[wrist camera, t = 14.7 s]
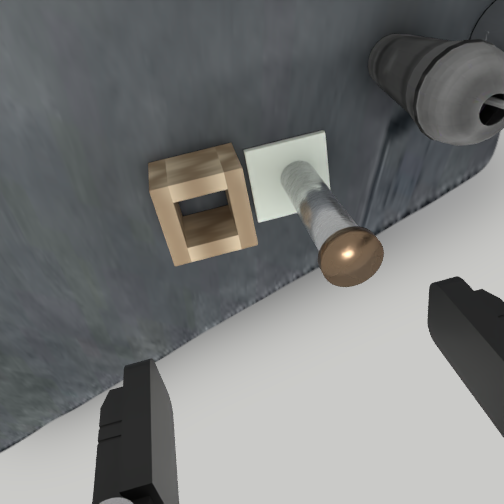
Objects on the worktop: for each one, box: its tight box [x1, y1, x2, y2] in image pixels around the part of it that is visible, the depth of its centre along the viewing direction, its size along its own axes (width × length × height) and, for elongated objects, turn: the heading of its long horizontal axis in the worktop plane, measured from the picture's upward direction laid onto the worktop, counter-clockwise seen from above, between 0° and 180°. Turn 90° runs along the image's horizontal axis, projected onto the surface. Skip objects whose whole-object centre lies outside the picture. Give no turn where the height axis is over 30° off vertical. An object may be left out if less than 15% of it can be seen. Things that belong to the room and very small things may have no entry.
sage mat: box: [243, 130, 330, 223], centre depth 47 cm, size 8×8×1 cm
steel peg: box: [280, 160, 384, 287], centre depth 41 cm, size 5×5×15 cm
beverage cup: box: [368, 34, 504, 146], centre depth 35 cm, size 7×7×20 cm
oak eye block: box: [148, 143, 258, 266], centre depth 44 cm, size 8×8×6 cm
